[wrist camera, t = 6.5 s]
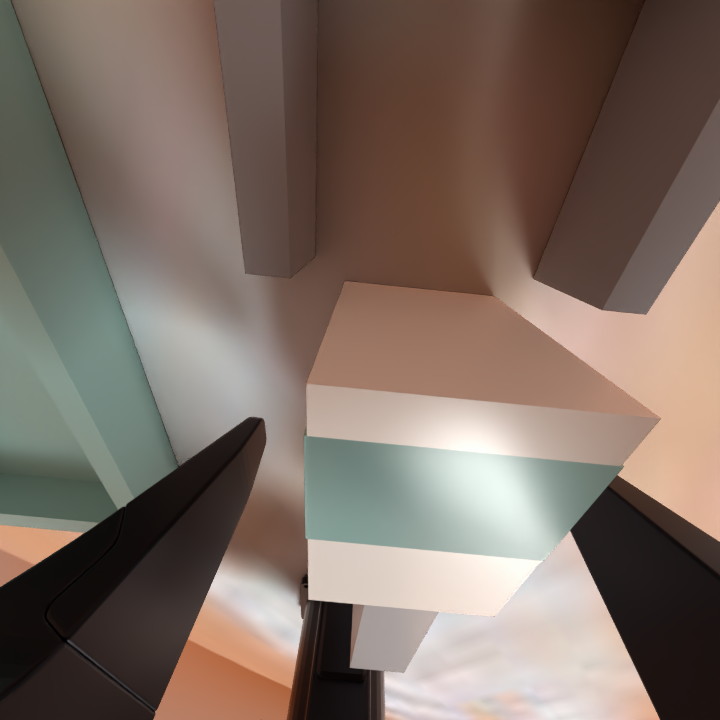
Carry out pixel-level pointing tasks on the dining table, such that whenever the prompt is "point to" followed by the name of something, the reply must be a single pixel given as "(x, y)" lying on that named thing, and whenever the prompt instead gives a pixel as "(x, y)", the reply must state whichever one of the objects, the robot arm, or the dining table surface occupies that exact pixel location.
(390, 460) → the teal striped block
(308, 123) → the bay
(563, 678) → the dining table surface
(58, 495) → the tray
